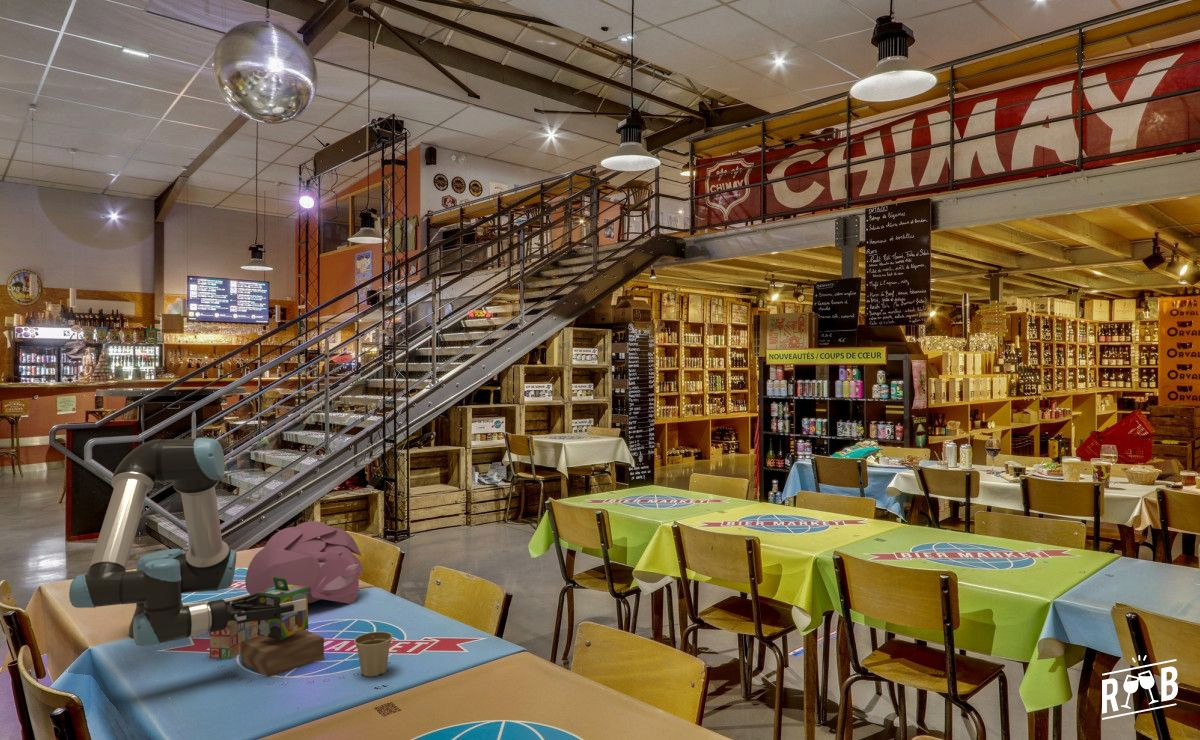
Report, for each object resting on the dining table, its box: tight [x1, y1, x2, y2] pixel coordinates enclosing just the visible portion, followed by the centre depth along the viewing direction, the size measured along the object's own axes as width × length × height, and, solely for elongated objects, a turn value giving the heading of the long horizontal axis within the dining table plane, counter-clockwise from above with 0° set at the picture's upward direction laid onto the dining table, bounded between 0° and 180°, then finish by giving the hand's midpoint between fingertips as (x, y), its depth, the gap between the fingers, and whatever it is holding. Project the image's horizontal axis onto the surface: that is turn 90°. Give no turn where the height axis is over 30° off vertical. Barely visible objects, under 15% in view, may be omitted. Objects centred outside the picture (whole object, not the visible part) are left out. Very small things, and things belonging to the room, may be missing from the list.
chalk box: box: [257, 577, 309, 640], centre depth 189 cm, size 9×9×15 cm
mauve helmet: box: [244, 520, 364, 605], centre depth 239 cm, size 36×24×29 cm
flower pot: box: [353, 631, 394, 677], centre depth 181 cm, size 9×9×9 cm
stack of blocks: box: [209, 620, 260, 660], centre depth 201 cm, size 21×6×12 cm, turn 172°
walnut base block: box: [240, 629, 325, 678], centre depth 189 cm, size 15×15×6 cm
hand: (297, 599), depth 192 cm, fingers closed on chalk box, 11 cm apart
